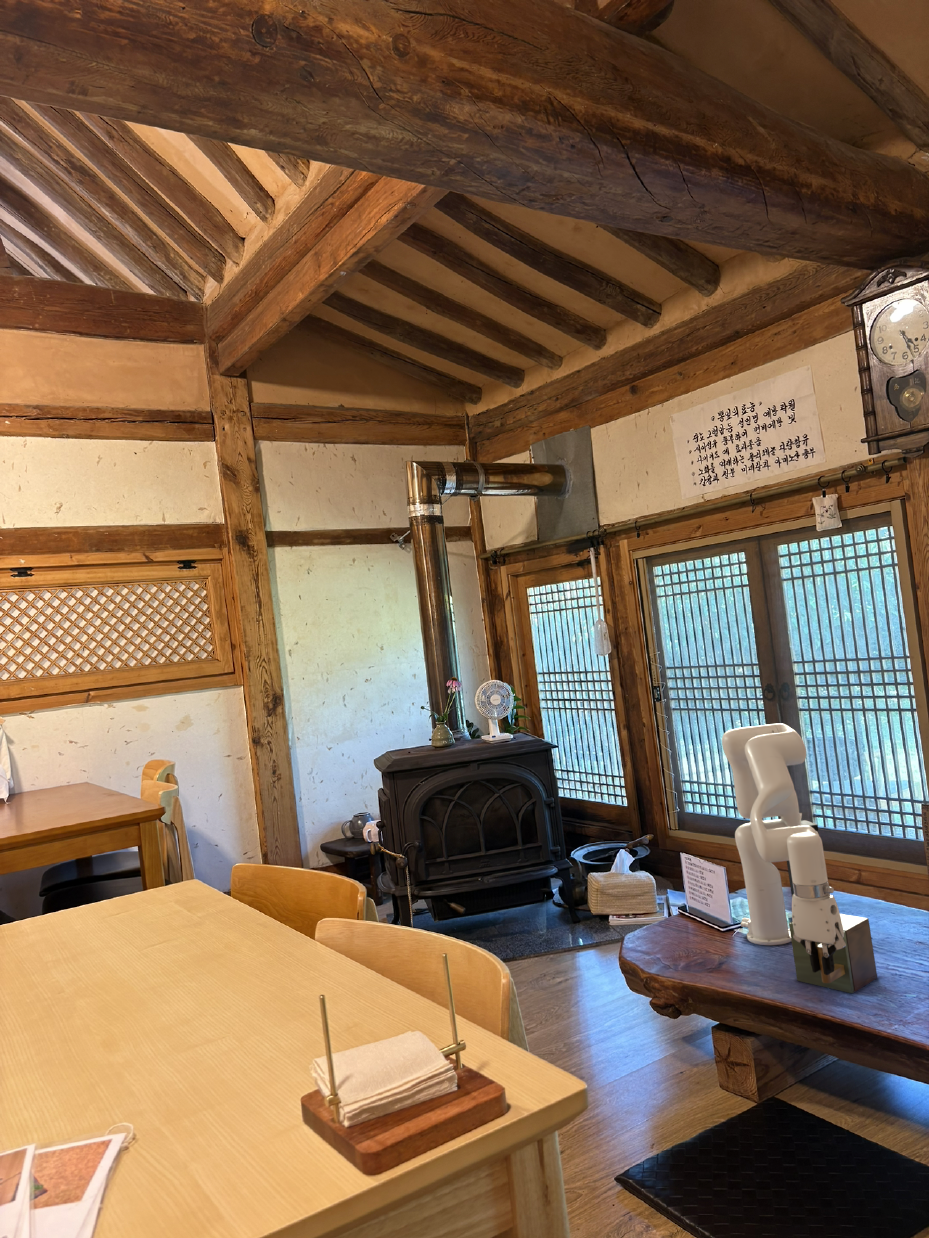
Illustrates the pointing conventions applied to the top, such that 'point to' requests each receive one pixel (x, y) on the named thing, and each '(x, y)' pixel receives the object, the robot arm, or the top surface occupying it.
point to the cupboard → (859, 950)
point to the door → (834, 980)
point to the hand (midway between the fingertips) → (823, 971)
